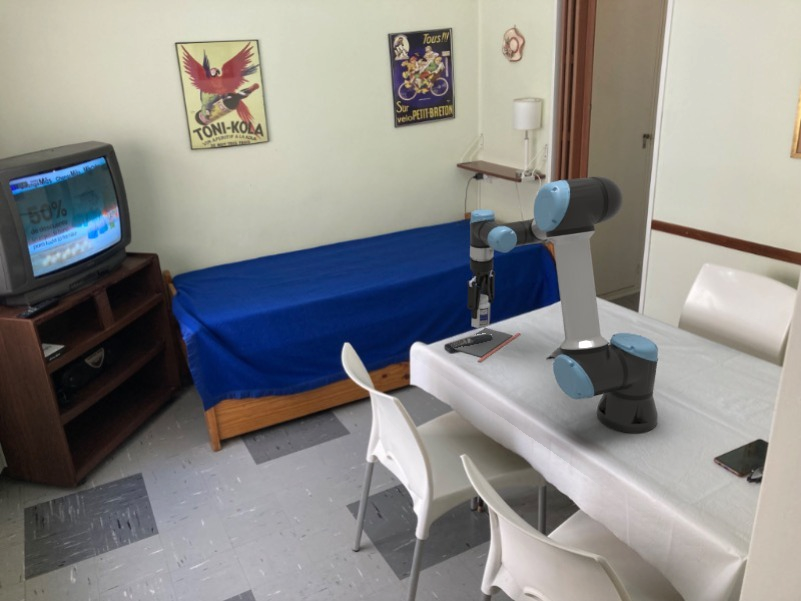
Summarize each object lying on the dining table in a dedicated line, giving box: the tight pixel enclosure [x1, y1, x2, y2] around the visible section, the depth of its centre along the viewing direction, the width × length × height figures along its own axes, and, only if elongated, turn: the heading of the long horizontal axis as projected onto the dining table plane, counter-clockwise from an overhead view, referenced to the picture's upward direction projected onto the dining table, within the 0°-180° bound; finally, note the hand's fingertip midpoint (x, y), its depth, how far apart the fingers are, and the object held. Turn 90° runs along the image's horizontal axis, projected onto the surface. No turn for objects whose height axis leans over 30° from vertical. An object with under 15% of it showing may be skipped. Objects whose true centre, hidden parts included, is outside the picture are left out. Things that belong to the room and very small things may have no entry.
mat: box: [453, 327, 514, 359], centre depth 218 cm, size 20×11×1 cm, turn 141°
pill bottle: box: [478, 293, 491, 328], centre depth 215 cm, size 6×6×10 cm
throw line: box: [477, 332, 522, 363], centre depth 214 cm, size 26×1×1 cm, turn 141°
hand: (480, 323), depth 216 cm, fingers closed on pill bottle, 6 cm apart
